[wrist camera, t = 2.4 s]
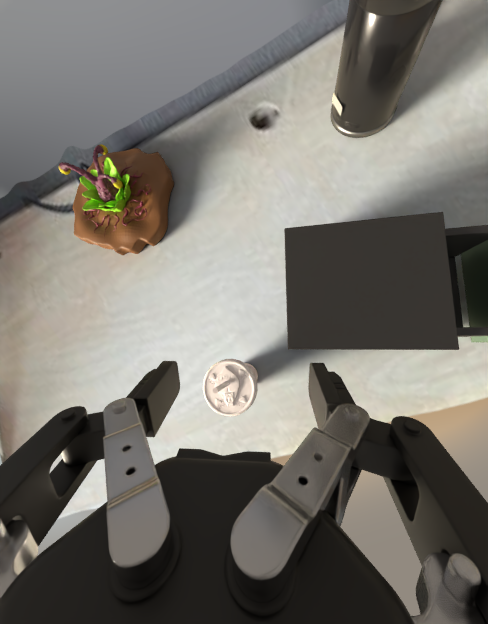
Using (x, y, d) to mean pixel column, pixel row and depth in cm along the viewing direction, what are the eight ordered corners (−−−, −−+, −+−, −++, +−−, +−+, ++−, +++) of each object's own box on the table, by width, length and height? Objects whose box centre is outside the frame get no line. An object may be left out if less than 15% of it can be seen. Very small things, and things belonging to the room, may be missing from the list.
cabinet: (397, 251, 34) (443, 211, 23) (406, 346, 32) (459, 349, 22) (287, 259, 37) (284, 228, 27) (290, 346, 35) (287, 349, 25)
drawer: (508, 244, 30) (593, 206, 21) (523, 342, 28) (621, 342, 20) (352, 256, 34) (371, 228, 25) (358, 342, 32) (380, 343, 24)
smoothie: (262, 351, 36) (243, 358, 22) (269, 394, 35) (253, 428, 21) (223, 357, 37) (181, 367, 24) (229, 399, 36) (189, 434, 23)
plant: (93, 158, 48) (34, 105, 37) (180, 154, 44) (142, 92, 33) (74, 252, 46) (6, 225, 35) (162, 258, 42) (116, 229, 31)
